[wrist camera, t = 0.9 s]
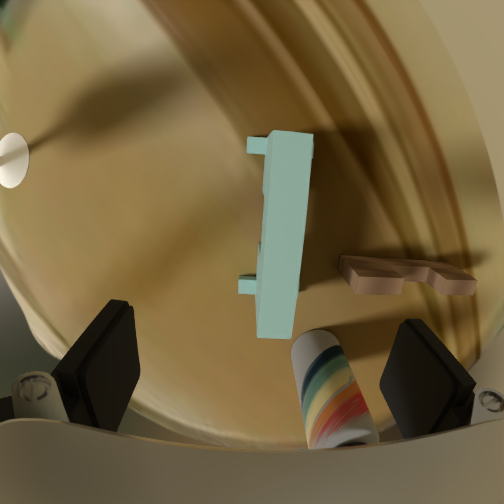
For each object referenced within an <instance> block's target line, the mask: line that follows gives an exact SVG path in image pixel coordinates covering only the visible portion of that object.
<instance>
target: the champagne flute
mask: <svg viewBox="0 0 504 504" xmlns="http://www.w3.org/2000/svg"><path fill="white" fill-rule="evenodd" d="M28 164H29V150H28V146H27V143H26V141H25V140H24V138H23V137H22V136H21V135H20V134H18V133H10V134H7V135H6V136H5V137H4V138H3V139H2V140H1V141H0V183H1V184H2V185H3V186H4V187H7V188H13V187H16V186H17V185H19V184H20V183H21V182H22V180H23V179H24V177H25V175H26V172H27V169H28Z"/></svg>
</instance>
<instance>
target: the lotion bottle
mask: <svg viewBox="0 0 504 504" xmlns="http://www.w3.org/2000/svg"><path fill="white" fill-rule="evenodd" d="M291 357H292V364H293V369H294V374H295V379H296V385H297V390H298V395H299V400H300V406H301V411H302V416H303V422H304V427H305V432H306V438H307V443H308V448H309V449H324V448H338V447H349V446H359V445H368V444H376V443H379V435H378V432H377V429H376V427H375V424H374V422H373V419H372V417H371V414H370V412H369V409H368V407H367V405H366V402H365V400H364V398H363V395H362V393H361V391H360V388H359V386H358V384H357V381H356V379H355V377H354V374H353V372H352V370H351V368H350V365H349V363H348V361H347V359H346V356H345V354H344V352H343V350H342V347H341V345H340V343H339V341H338V340H337V338H336V337H335V336H334V335H333V334H332V333H330V332H328V331H325V330H312V331H309V332H306V333H304V334H302V335H301V336H300V337H299V338H298V339H297V340H296V341H295V342H294V344H293V346H292V350H291Z"/></svg>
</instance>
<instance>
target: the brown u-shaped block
mask: <svg viewBox="0 0 504 504" xmlns="http://www.w3.org/2000/svg"><path fill="white" fill-rule="evenodd" d="M338 271H339V272H340V273H341V275H342V276H343V277H344V279H345V280H346V281H347V283H348V284H349V286H350V287H351V288H352V290H353V291H354V292H355V294H377V295H401V290H402V286H403V282H404V281H417V282H427V283H428V284H429V285H431V286H432V287H433V288H434V289H435V290H437V291H438V292H439V293H440V294H442V295H473V294H474V291H475V288H476V284H477V280H476V279H474V278H473V277H471V276H470V275H468V274H467V273H465V272H464V271H462V270H460V269H459V268H457V267H456V266H454V265H453V264H451V263H449V262H443V261H428V260H412V259H397V258H381V257H365V256H349V255H340V260H339V266H338Z"/></svg>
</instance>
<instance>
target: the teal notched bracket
mask: <svg viewBox="0 0 504 504" xmlns="http://www.w3.org/2000/svg"><path fill="white" fill-rule="evenodd" d="M313 152H314V142H313V134H308V133H299V132H289V131H278V130H273V131H272V132H271V134H270V135H269V136H268V137H267V138H262V137H248V139H247V153H253V154H265V163H264V177H263V194H264V210H263V224H262V237H261V243H259V246H258V259H257V273H256V277H253V276H239V287H238V293H239V294H255V298H256V321H257V338H274V339H291V335H292V328H293V321H294V314H295V307H296V300H297V296H298V294H299V287H300V281H299V276H300V268H301V260H302V251H303V242H304V233H305V224H306V214H307V204H308V194H309V183H310V171H311V159H313Z"/></svg>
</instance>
